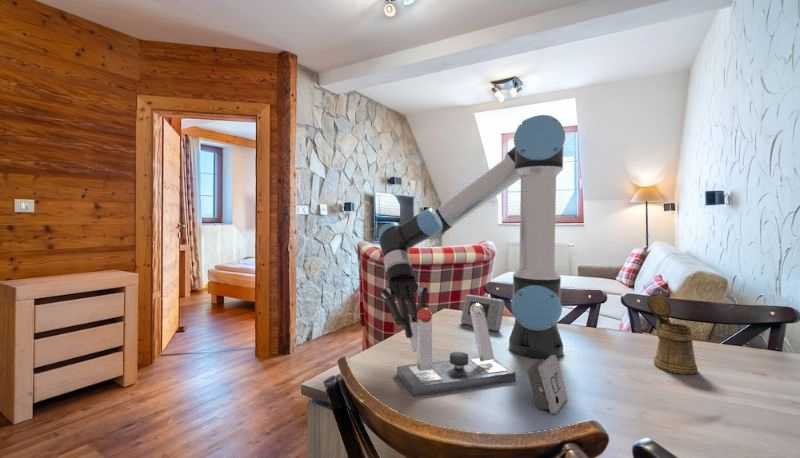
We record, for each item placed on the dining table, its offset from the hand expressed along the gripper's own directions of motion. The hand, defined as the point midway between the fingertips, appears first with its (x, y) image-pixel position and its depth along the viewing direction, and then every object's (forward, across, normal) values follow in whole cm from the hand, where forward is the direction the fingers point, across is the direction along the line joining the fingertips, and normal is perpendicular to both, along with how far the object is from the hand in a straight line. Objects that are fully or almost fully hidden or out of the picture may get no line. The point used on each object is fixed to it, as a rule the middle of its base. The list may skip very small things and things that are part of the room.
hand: (417, 349), depth 90 cm
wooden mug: (+13, -67, +4) cm, 69 cm away
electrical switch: (+19, -22, +9) cm, 30 cm away
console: (+7, -9, -3) cm, 12 cm away
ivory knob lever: (+5, -18, -2) cm, 19 cm away
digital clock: (-19, -38, -31) cm, 52 cm away
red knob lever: (+5, -1, -2) cm, 5 cm away
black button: (+4, -10, -1) cm, 11 cm away
